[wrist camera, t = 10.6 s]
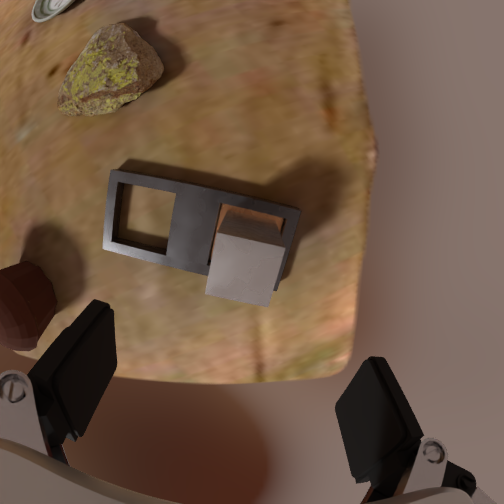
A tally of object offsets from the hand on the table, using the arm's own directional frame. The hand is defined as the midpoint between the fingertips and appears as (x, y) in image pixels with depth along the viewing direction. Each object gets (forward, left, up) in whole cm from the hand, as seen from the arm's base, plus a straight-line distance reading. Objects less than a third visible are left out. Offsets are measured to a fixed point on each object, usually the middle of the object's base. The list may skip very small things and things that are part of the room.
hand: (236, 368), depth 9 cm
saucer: (-27, -31, -18) cm, 45 cm away
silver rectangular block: (0, 0, -18) cm, 18 cm away
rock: (-14, -18, -18) cm, 29 cm away
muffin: (+14, -27, -18) cm, 36 cm away
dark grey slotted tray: (0, -5, -18) cm, 18 cm away
